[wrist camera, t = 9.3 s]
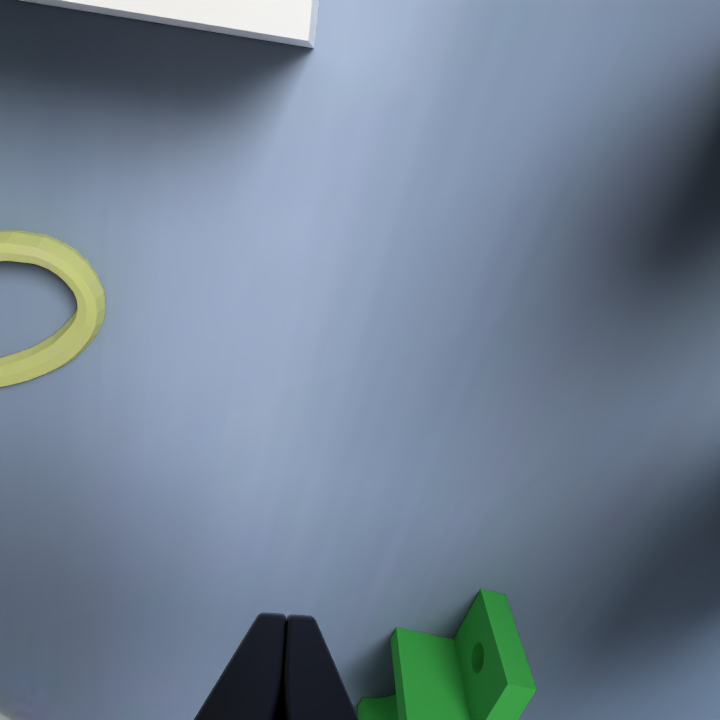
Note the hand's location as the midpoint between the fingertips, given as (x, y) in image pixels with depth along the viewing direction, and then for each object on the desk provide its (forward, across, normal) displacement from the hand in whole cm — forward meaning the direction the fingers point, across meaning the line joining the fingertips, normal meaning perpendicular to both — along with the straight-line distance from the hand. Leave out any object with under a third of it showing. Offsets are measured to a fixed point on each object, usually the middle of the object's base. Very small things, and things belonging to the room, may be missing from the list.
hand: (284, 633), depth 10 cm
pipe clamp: (+12, -7, +16) cm, 21 cm away
